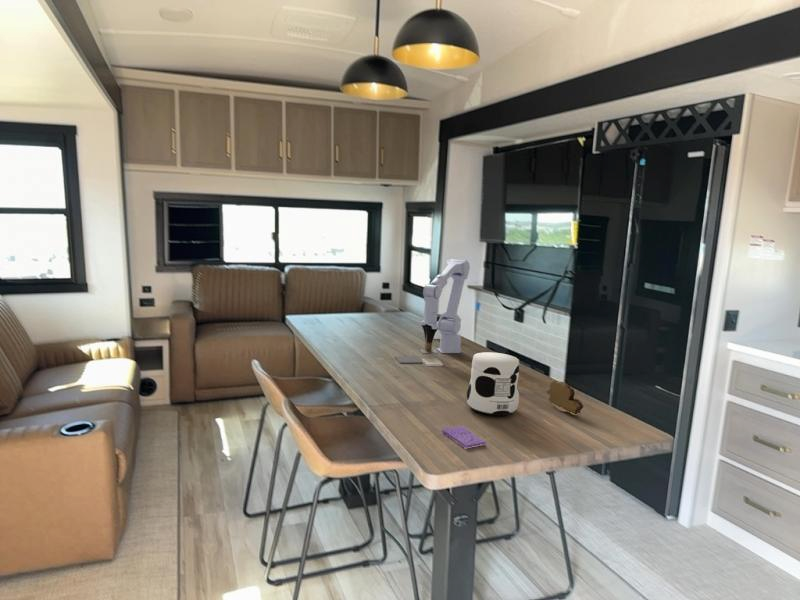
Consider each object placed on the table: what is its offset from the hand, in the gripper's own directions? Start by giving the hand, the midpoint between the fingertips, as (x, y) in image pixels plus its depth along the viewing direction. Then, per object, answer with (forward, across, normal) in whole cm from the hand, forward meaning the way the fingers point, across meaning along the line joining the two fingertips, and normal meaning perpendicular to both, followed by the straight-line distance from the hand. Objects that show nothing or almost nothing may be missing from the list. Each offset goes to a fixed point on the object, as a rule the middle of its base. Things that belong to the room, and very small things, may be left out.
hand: (428, 341), depth 238 cm
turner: (+5, +2, 0) cm, 5 cm away
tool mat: (+8, +2, -10) cm, 13 cm away
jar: (+8, -41, +18) cm, 45 cm away
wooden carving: (+8, +66, +29) cm, 73 cm away
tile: (+8, +2, 0) cm, 8 cm away
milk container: (+8, +63, +4) cm, 64 cm away
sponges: (+9, +85, -14) cm, 86 cm away
